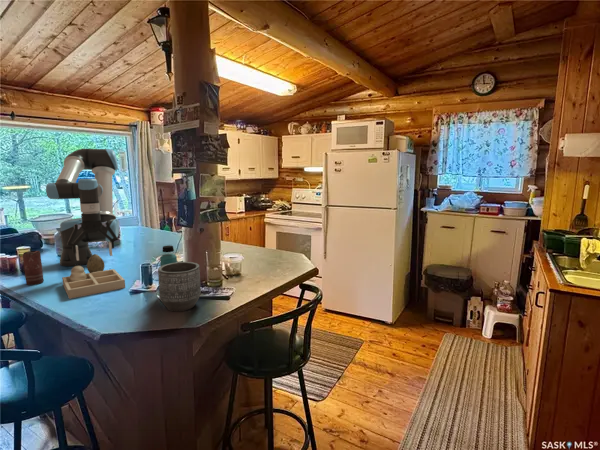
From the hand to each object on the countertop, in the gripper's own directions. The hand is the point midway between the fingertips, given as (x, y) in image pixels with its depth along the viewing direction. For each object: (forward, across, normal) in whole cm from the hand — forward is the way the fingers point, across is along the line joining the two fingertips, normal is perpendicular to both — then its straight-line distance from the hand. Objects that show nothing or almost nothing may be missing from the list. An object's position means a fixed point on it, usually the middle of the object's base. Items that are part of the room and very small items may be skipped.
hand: (94, 257), depth 162 cm
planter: (+10, +17, -61) cm, 64 cm away
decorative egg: (+8, 0, +1) cm, 9 cm away
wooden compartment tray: (+9, -4, -17) cm, 20 cm away
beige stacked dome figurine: (+8, -9, -13) cm, 17 cm away
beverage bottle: (+9, +18, -47) cm, 52 cm away
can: (+9, -23, +4) cm, 25 cm away
